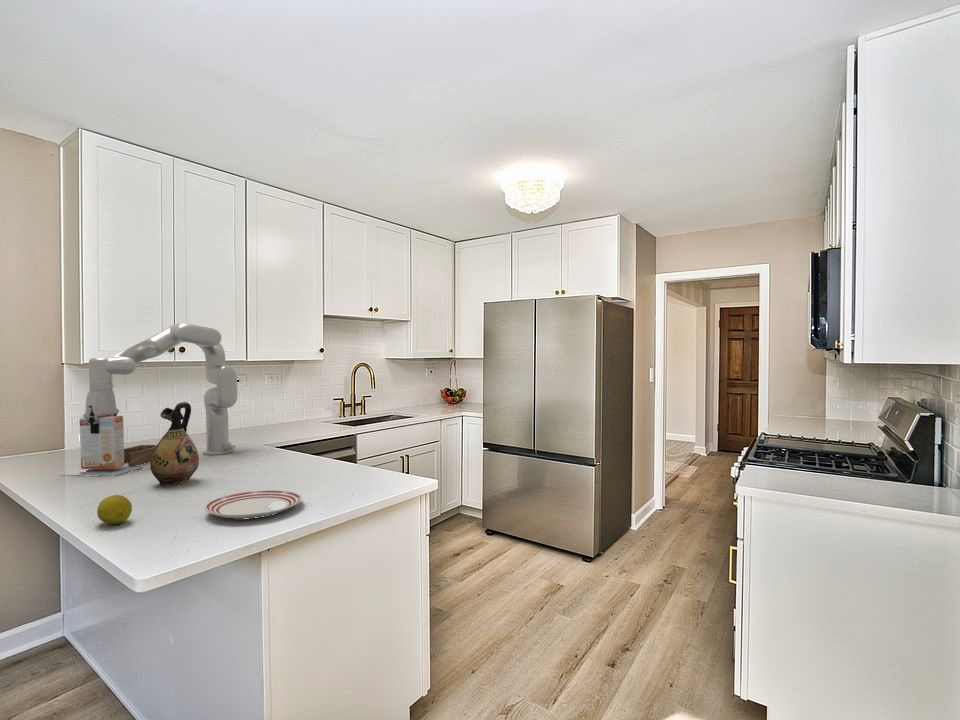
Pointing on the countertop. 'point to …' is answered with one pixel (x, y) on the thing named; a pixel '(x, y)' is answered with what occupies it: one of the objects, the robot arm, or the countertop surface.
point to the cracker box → (102, 443)
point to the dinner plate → (251, 503)
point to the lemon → (114, 509)
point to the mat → (110, 471)
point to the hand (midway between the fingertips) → (102, 431)
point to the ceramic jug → (175, 450)
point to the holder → (138, 454)
